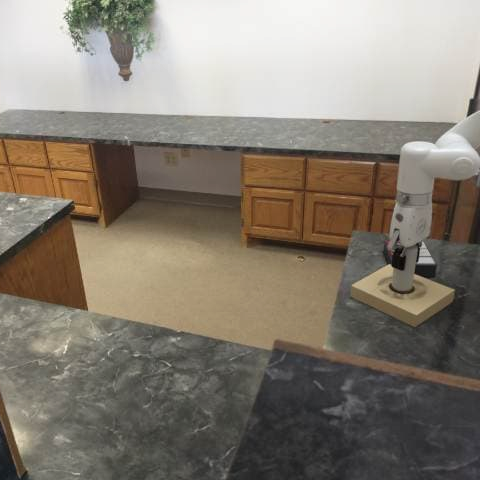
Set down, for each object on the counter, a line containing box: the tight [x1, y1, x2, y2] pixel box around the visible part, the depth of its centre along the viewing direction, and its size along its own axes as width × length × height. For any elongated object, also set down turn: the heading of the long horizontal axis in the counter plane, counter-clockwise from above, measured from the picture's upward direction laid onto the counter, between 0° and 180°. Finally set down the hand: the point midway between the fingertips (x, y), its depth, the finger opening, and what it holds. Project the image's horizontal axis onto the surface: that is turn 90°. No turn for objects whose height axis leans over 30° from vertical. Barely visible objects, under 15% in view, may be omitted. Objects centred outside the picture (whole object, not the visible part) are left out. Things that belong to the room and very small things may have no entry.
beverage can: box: [392, 244, 418, 292], centre depth 126 cm, size 5×5×12 cm
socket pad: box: [349, 264, 456, 328], centre depth 129 cm, size 18×16×4 cm
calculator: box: [383, 240, 438, 278], centre depth 144 cm, size 11×4×15 cm
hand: (404, 263), depth 125 cm, fingers closed on beverage can, 4 cm apart
